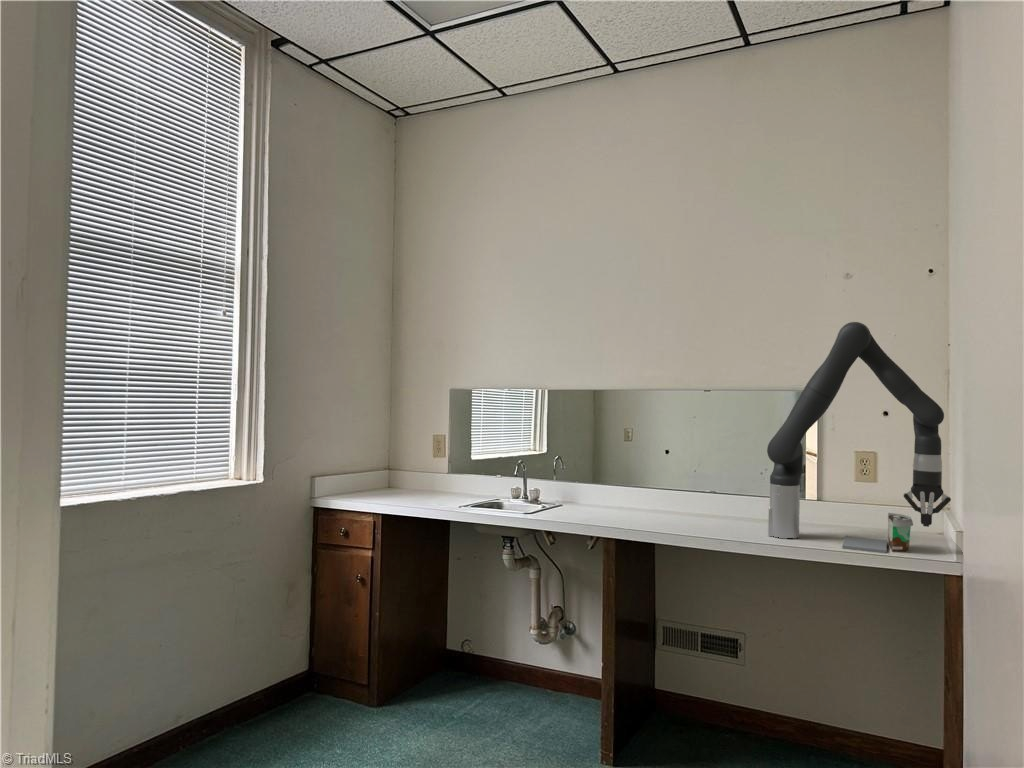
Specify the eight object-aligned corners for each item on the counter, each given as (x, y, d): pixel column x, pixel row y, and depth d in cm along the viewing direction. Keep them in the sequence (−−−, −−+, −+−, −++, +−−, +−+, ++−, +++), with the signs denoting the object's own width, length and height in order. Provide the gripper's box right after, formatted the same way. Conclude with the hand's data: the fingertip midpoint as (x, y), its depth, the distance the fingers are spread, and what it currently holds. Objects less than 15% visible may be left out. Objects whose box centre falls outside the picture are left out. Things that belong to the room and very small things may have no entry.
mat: (842, 548, 218) (842, 545, 218) (845, 538, 232) (845, 535, 232) (886, 553, 212) (886, 550, 212) (886, 542, 226) (886, 540, 226)
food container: (916, 554, 211) (916, 521, 210) (892, 552, 213) (893, 519, 213) (909, 545, 222) (910, 514, 222) (887, 544, 224) (887, 512, 224)
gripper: (902, 468, 214) (901, 525, 214) (954, 472, 208) (952, 530, 208) (902, 466, 221) (901, 521, 221) (952, 469, 214) (950, 526, 215)
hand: (926, 526), depth 214 cm, fingers closed
